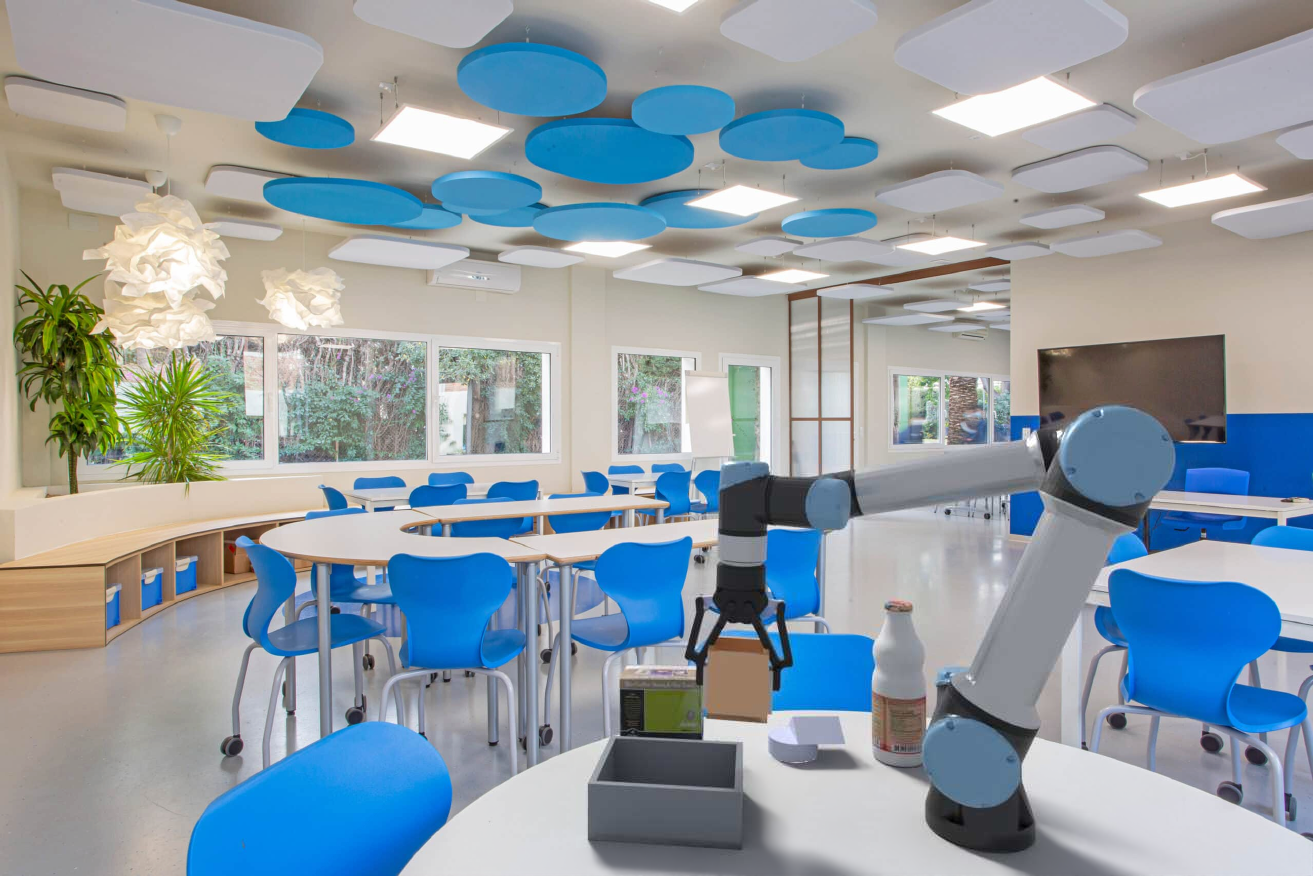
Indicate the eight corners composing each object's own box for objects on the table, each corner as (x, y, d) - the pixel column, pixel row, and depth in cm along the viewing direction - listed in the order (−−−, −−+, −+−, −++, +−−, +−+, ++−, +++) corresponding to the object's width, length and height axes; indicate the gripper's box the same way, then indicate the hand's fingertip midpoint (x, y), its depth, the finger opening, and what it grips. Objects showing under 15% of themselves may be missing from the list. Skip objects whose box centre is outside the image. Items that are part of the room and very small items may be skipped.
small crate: (766, 702, 119) (768, 639, 119) (767, 723, 110) (769, 655, 110) (710, 697, 120) (711, 635, 120) (705, 718, 111) (707, 651, 111)
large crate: (742, 791, 123) (742, 742, 123) (741, 849, 106) (741, 792, 106) (610, 783, 126) (610, 735, 126) (587, 839, 108) (587, 783, 108)
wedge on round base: (832, 743, 144) (764, 743, 143) (832, 707, 144) (764, 708, 143) (845, 763, 135) (773, 763, 134) (845, 725, 135) (773, 725, 134)
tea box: (704, 741, 144) (704, 664, 145) (702, 763, 134) (702, 680, 135) (626, 738, 146) (626, 661, 146) (618, 759, 136) (618, 677, 136)
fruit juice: (861, 755, 138) (860, 602, 138) (893, 743, 143) (892, 596, 144) (905, 773, 130) (904, 611, 130) (937, 760, 136) (936, 604, 136)
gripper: (812, 561, 117) (808, 705, 117) (673, 554, 120) (669, 694, 120) (815, 569, 110) (811, 723, 110) (667, 562, 113) (663, 711, 113)
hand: (737, 708), depth 115 cm, fingers closed on small crate, 9 cm apart
